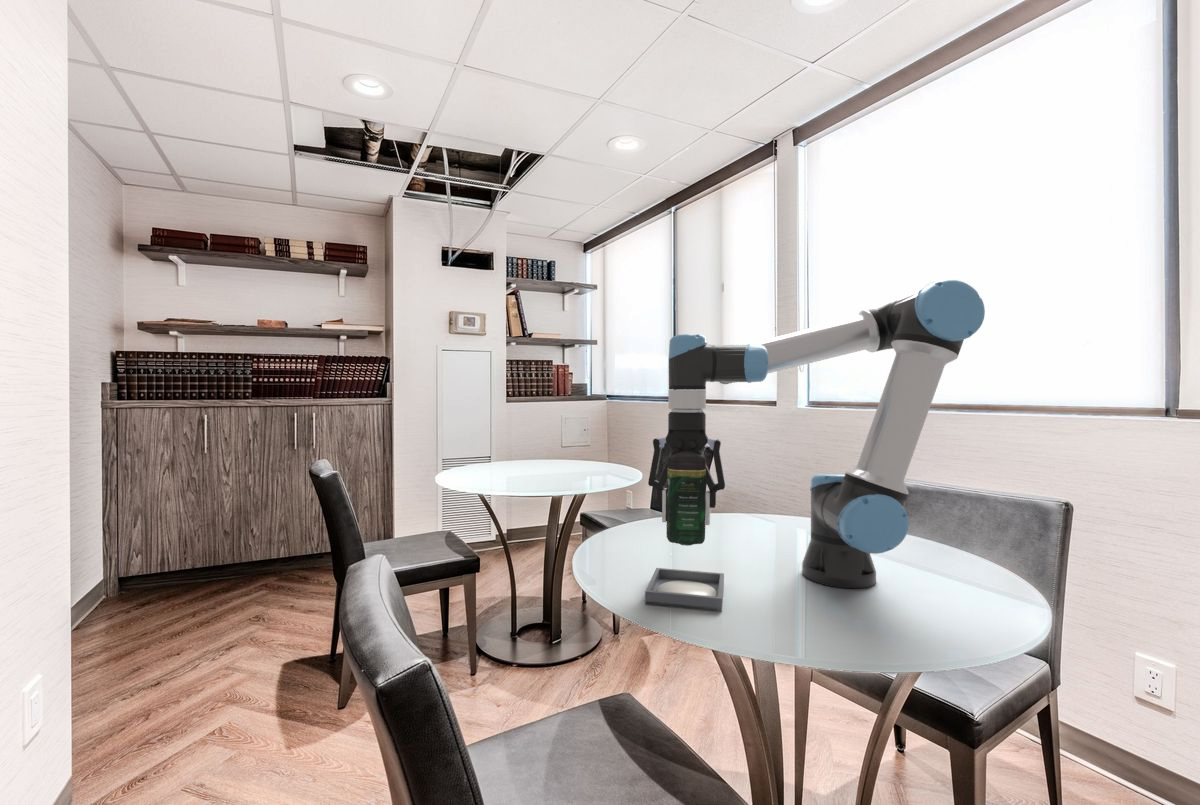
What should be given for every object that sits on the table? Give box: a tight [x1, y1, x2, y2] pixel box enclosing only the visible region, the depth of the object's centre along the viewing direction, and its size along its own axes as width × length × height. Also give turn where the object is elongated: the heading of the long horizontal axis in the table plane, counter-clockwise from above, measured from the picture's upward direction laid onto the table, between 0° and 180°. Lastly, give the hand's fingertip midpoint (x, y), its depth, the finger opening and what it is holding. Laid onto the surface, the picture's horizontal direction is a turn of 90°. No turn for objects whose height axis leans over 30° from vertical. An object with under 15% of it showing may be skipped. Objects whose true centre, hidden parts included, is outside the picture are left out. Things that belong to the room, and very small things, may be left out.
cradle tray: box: [644, 567, 725, 613], centre depth 109 cm, size 15×15×2 cm
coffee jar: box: [666, 451, 707, 547], centre depth 109 cm, size 10×8×19 cm
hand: (686, 521), depth 109 cm, fingers closed on coffee jar, 8 cm apart
